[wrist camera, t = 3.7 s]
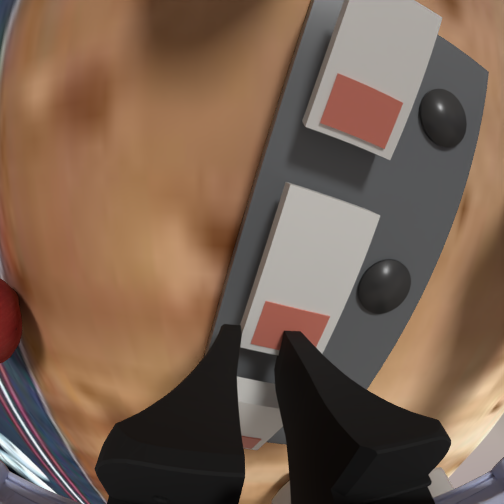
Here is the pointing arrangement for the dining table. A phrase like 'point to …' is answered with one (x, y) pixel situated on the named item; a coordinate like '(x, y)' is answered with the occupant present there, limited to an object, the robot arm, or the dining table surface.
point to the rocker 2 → (372, 72)
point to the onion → (9, 321)
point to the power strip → (363, 199)
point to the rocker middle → (306, 269)
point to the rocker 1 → (257, 412)
